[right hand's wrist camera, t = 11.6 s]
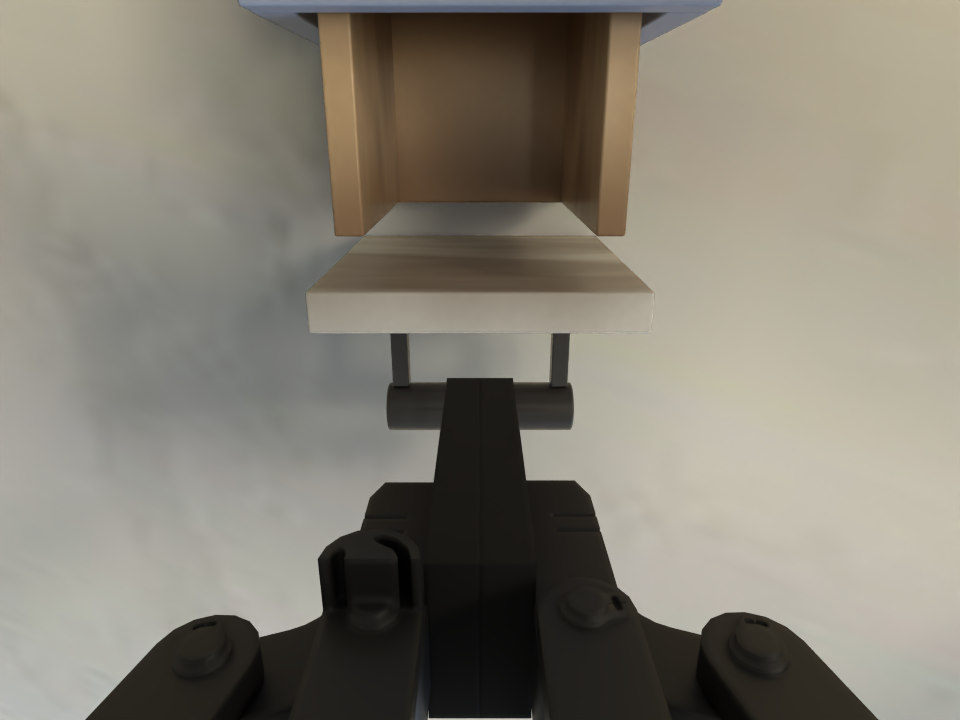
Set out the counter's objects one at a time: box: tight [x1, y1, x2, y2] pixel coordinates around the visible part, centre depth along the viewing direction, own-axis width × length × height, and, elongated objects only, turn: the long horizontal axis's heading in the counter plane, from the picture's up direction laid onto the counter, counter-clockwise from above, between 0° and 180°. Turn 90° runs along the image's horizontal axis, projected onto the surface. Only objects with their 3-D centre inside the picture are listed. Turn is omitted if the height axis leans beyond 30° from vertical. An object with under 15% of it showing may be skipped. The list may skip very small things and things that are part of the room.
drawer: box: [305, 12, 655, 430], centre depth 20 cm, size 22×10×10 cm, turn 0°
